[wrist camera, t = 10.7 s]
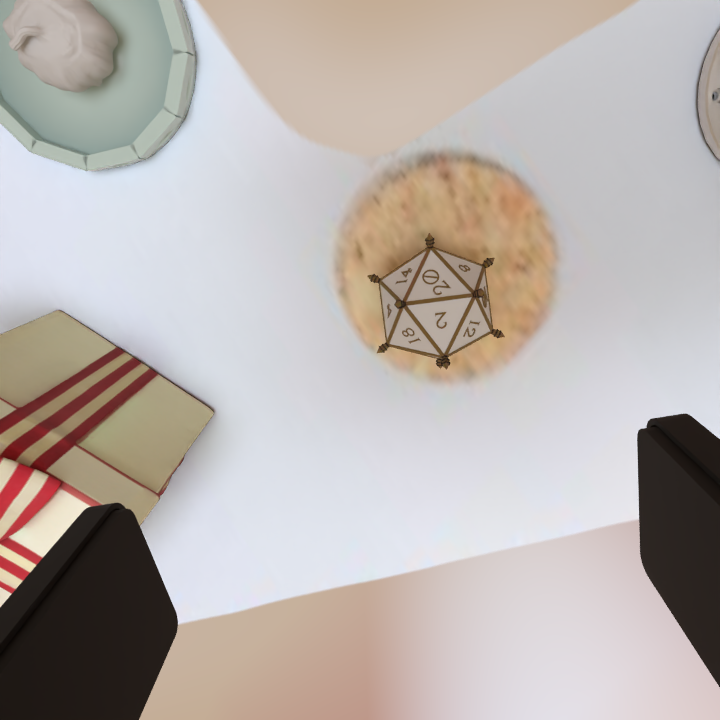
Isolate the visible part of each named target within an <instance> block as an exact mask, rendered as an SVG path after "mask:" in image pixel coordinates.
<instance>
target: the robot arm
mask: <svg viewBox="0 0 720 720" xmlns="http://www.w3.org/2000/svg"><path fill="white" fill-rule="evenodd" d="M713 94H714V99H713V100H712V95H713ZM698 111H699V118H700V125H701V128H702V130H703V133H704V136H705V139H706V142H707V143H708V145H709V146H710V148H711V150H712V151H713V153H714V154H715V156H716V157H717V158H718V159H719V160H720V29H719V31H718V33H717V34H716V36H715V38H714V40H713V41H712V44H711V46H710V49H709V51H708V54H707V56H706V59H705V61H704V64H703V68H702V73H701V77H700V82H699V91H698ZM637 443H638V483H639V522H640V554H641V559H642V563H643V566H644V569H645V571H646V573H647V575H648V577H649V579H650V580H651V582H652V583H653V585H654V586H655V588H656V590H657V591H658V593H659V594H660V596H661V597H662V599H663V600H664V602H665V603H666V605H667V607H668V608H669V610H670V611H671V613H672V614H673V615H674V617H675V619H676V620H677V622H678V623H679V625H680V626H681V628H682V630H683V631H684V633H685V634H686V636H687V637H688V639H689V640H690V642H691V644H692V645H693V647H694V648H695V650H696V651H697V653H698V655H699V656H700V658H701V659H702V660H703V662H704V664H705V665H706V667H707V668H708V670H709V671H710V673H711V675H712V676H713V678H714V679H715V681H716V682H717V684H718V685H719V687H720V439H719V438H717V437H716V436H715V435H714V434H712V433H711V432H710V431H709V430H707V429H706V428H705V427H704V426H703V425H701V424H700V423H699V422H698V421H696V420H695V419H694V418H693V417H692V416H690V415H688V414H679V415H673V416H666V417H660V418H654V419H650V420H649V421H648V423H647V428H644V429H640V430H639V431H638V437H637ZM177 627H178V620H177V614H176V611H175V609H174V607H173V604H172V602H171V600H170V597H169V595H168V592H167V590H166V588H165V585H164V583H163V581H162V578H161V576H160V573H159V571H158V569H157V566H156V564H155V561H154V559H153V557H152V554H151V552H150V550H149V547H148V545H147V542H146V540H145V538H144V535H143V533H142V531H141V528H140V526H139V523H138V521H137V519H136V516H135V514H134V513H133V511H132V510H131V509H126V508H125V506H123V505H122V504H121V503H111V504H104V505H98V506H91V507H88V508H86V509H85V510H84V511H83V512H82V513H81V514H80V515H79V516H78V517H77V519H76V520H75V521H74V522H73V523H72V524H71V526H70V527H69V528H68V529H67V530H66V531H65V533H64V534H63V535H62V536H61V537H60V538H59V540H58V541H57V542H56V543H55V544H54V545H53V546H52V548H51V549H50V550H49V551H48V552H47V553H46V555H45V556H44V557H43V558H42V559H41V560H40V562H39V563H38V564H37V565H36V566H35V567H34V569H33V570H32V571H31V572H30V573H29V574H28V576H27V577H26V578H25V579H24V580H23V581H22V582H21V584H20V585H19V586H18V587H17V588H16V589H15V591H14V592H13V593H12V594H11V595H10V596H9V598H8V599H7V600H6V601H5V602H4V603H3V605H2V606H1V607H0V720H139V718H140V716H141V713H142V711H143V709H144V707H145V704H146V702H147V700H148V697H149V695H150V693H151V690H152V688H153V686H154V684H155V682H156V679H157V677H158V675H159V672H160V670H161V668H162V666H163V663H164V661H165V659H166V656H167V654H168V652H169V650H170V647H171V645H172V643H173V640H174V638H175V635H176V633H177Z"/></svg>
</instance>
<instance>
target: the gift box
mask: <svg viewBox="0 0 720 720" xmlns="http://www.w3.org/2000/svg"><path fill="white" fill-rule="evenodd" d="M213 415H214V413H213V411H212V410H211V409H210V408H208V407H207V406H206V405H204V404H202V403H201V402H200V401H198V400H197V399H195V398H194V397H192V396H191V395H189V394H187V393H186V392H184V391H183V390H181V389H180V388H178V387H177V386H175V385H174V384H172V383H171V382H169V381H168V380H166V379H165V378H163V377H161V376H160V375H159V374H157V373H156V372H155V371H153V370H152V369H150V368H149V367H147V366H146V365H144V364H142V363H141V362H140V361H138V360H137V359H135V358H134V357H132V356H130V355H129V354H127V353H126V352H124V351H123V350H121V349H119V348H118V347H116V346H114V345H113V344H111V343H110V342H108V341H107V340H105V339H104V338H102V337H101V336H99V335H98V334H96V333H95V332H93V331H91V330H90V329H88V328H87V327H85V326H84V325H82V324H80V323H79V322H77V321H76V320H75V319H73V318H71V317H70V316H68V315H67V314H65V313H64V312H62V311H59V310H57V311H54V312H52V313H50V314H47V315H45V316H43V317H41V318H38V319H35V320H33V321H31V322H29V323H27V324H24V325H22V326H19V327H17V328H14V329H12V330H10V331H7V332H5V333H3V334H1V335H0V607H1V606H2V605H3V603H4V602H5V601H6V600H7V599H8V598H9V596H10V595H11V594H12V593H13V592H14V591H15V589H16V588H17V587H18V586H19V585H20V584H21V582H22V581H23V580H24V579H25V578H26V577H27V576H28V574H29V573H30V572H31V571H32V570H33V569H34V567H35V566H36V565H37V564H38V563H39V562H40V560H41V559H42V558H43V557H44V556H45V555H46V553H47V552H48V551H49V550H50V549H51V548H52V546H53V545H54V544H55V543H56V542H57V541H58V540H59V538H60V537H61V536H62V535H63V534H64V533H65V531H66V530H67V529H68V528H69V527H70V526H71V524H72V523H73V522H74V521H75V520H76V519H77V517H78V516H79V515H80V514H81V513H82V512H83V511H84V510H85V509H86V508H88V507H91V506H98V505H104V504H111V503H121V504H122V505H123V506H125V508H126V509H131V510H132V511H133V513H134V514H135V516H136V519H137V521H138V523H139V526H140V525H141V524H142V522H143V521H144V520H145V518H146V517H147V515H148V514H149V513H150V511H151V510H152V509H153V507H154V506H155V505H156V503H157V502H158V501H159V499H160V495H162V494H163V492H164V491H165V489H166V487H167V485H168V483H169V480H170V477H171V476H172V474H173V473H174V471H175V470H176V469H177V467H178V466H179V465H180V464H181V462H182V461H183V459H184V455H185V453H186V452H187V451H188V449H189V448H190V446H191V445H192V444H193V442H194V441H195V439H196V438H197V437H198V435H199V434H200V433H201V431H202V430H203V428H204V427H205V426H206V424H207V423H208V421H209V420H210V419H211V417H212V416H213Z"/></svg>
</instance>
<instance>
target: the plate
mask: <svg viewBox="0 0 720 720" xmlns="http://www.w3.org/2000/svg"><path fill="white" fill-rule="evenodd" d="M88 1H89V2H91V3H92V4H93V5H94V7H95V8H96V10H97V12H98V13H99V14H101V15H102V16H103V17H104V18H105V19H107V20H108V21H109V22H110V24H111V25H112V27H113V29H114V31H115V32H116V34H117V38H118V43H117V46H116V47H115V49H114V50H113V71H112V73H111V74H110V75H109V76H107V77H106V78H104V79H103V81H102V84H101V85H100V86H98V87H97V86H91V87H90V88H88V89H87V90H85V91H83V92H72V91H64V90H60V89H58V88H56V87H54V86H51V85H48V84H45V83H44V82H42V81H41V80H40V79H39V78H38V76H37V75H36V74H35V73H34V72H32V71H30V70H28V69H27V68H25V67H24V66H23V65H22V64H21V63H20V61H19V58H18V52H17V51H14V50H13V49H11V47H10V46H9V41H10V40H11V39H10V38H9V37H8V35H7V34H6V32H5V30H4V28H3V21H4V20H5V19H6V18H7V17H8V16H9V15H10V14H11V12H12V10H13V9H14V4H15V2H16V0H0V123H1V124H2V125H3V126H4V127H5V128H6V129H7V130H8V131H9V132H10V133H11V134H12V135H13V136H14V137H15V138H16V139H17V140H18V141H19V142H20V143H21V144H22V145H23V146H24V147H25V148H26V149H27V150H28V151H29V152H31V153H34V154H37V155H40V156H43V157H46V158H49V159H52V160H55V161H58V162H61V163H64V164H67V165H70V166H73V167H76V168H79V169H82V170H85V171H98V170H102V169H107V168H116V167H122V166H128V165H131V164H134V163H137V162H140V161H142V160H144V159H146V158H148V157H150V156H151V155H153V154H154V153H156V152H157V151H159V150H160V149H161V148H162V147H163V146H164V145H165V144H166V143H167V142H168V141H170V139H171V138H172V137H173V136H174V134H175V133H176V132H177V130H178V129H179V127H180V125H181V124H182V122H183V120H184V118H185V116H186V114H187V111H188V109H189V106H190V103H191V99H192V96H193V92H194V86H195V78H196V54H195V45H194V39H193V34H192V30H191V26H190V23H189V20H188V17H187V14H186V11H185V8H184V6H183V4H182V2H181V0H88Z"/></svg>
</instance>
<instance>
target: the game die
mask: <svg viewBox="0 0 720 720" xmlns="http://www.w3.org/2000/svg"><path fill="white" fill-rule="evenodd" d="M425 241H426V245H427V246H428V247H427V248H426V249H424V250H423V251H421V252H420V253H418V254H417V255H415V256H414V257H412V258H411V259H409V260H408V261H407V262H405V263H404V264H402V265H401V266H399V267H398V268H396V269H395V270H393V271H392V272H390V273H389V274H387V275H386V276H384V277H383V278H379V277H378V276H376V275H375V274H374V275H368V277H369V279H370V280H371V282H372V281H373V282H374V283H379V289H380V297H381V305H382V313H383V321H384V329H385V337H386V343H385V344H382V345H381V346H379V349H378V352H377V353H382V352H384V353H385V351H386V350H387V348H388V347H394V348H397V349H401V350H405V351H409V352H413V353H417V354H421V355H425V356H429V357H432V358H436V359H437V360H436V362H437V363H436V365H437V366H439V368H440V369H441V367H442V366H443V367H445V369H446V370H447V368H448V366H449V365H450V362H449V359H448V358H447V357H449V356H451V355H453V354H454V353H456V352H458V351H460V350H462V349H463V348H465V347H467V346H469V345H471V344H472V343H474V342H476V341H478V340H480V339H482V338H483V337H485V336H487V335H489V334H493V335H494V337H497V338H500V337H505V336H504V335H503V333H502V332H501V331H499V330H498V329H497V330H495V329H493V325H492V317H491V309H490V301H489V294H488V286H487V278H486V270H485V268H487V267H489V266H490V265H492V264H493V261H494V258H489V259H488V258H487V260H486V261H485V260H484V263H483V264H482V265H481V264H479V263H476V262H473V261H470V260H468V259H465V258H462V257H459V256H457V255H454V254H451V253H448V252H446V251H443V250H440V249H438V248H435V247H433V244H434V238H433V237H432V236H431V235H430V233H429V234H428V237H427V238H426V240H425Z"/></svg>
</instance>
